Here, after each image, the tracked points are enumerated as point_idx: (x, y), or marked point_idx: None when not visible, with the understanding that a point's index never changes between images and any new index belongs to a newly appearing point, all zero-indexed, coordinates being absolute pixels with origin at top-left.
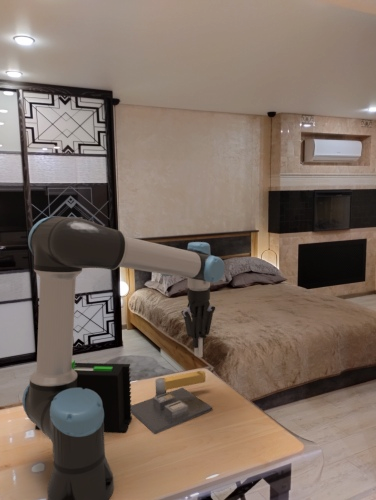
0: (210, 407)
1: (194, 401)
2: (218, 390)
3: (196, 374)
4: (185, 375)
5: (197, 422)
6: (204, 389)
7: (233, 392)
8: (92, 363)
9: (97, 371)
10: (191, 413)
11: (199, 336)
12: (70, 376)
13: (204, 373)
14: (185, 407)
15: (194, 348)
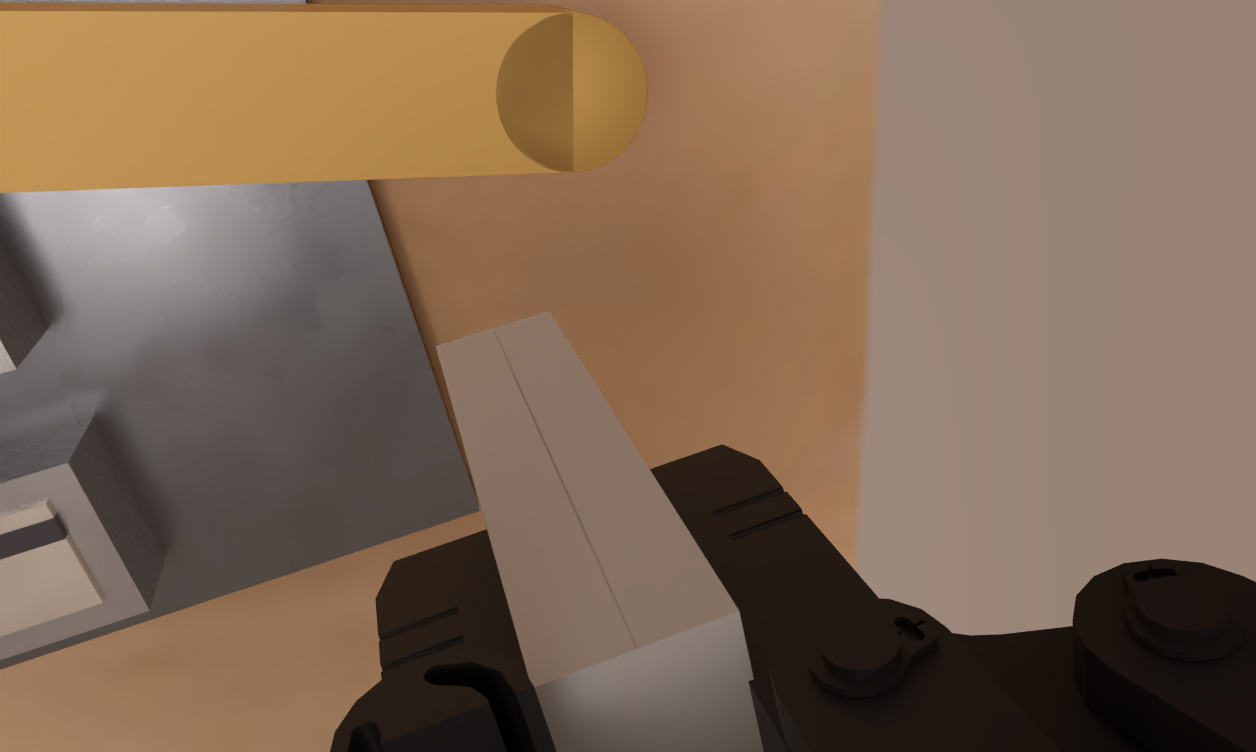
0: (456, 509)
1: (321, 337)
2: (736, 109)
3: (468, 132)
4: (251, 92)
5: (241, 651)
6: (586, 6)
7: (860, 222)
8: None
9: None
10: (203, 568)
11: (765, 734)
12: None
13: (614, 149)
14: (109, 621)
15: (461, 435)
